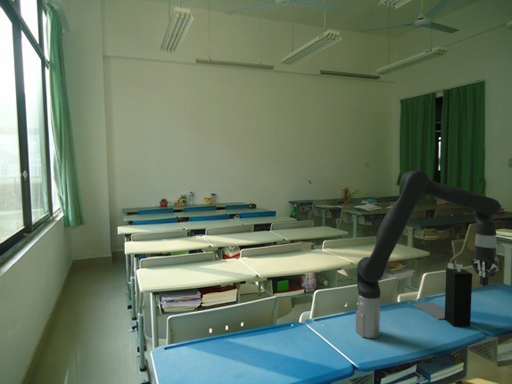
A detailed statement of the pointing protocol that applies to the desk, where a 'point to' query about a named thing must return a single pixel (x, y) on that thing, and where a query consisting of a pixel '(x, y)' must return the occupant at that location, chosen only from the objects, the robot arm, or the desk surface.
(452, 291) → the black rectangular bar
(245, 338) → the desk surface
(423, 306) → the rubber mat
